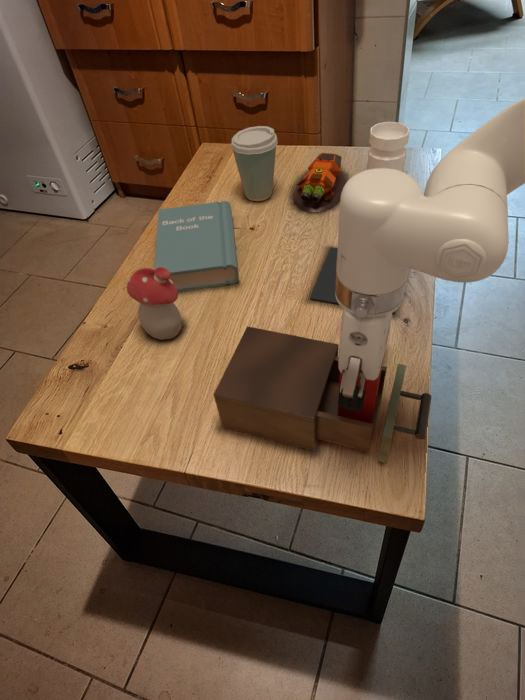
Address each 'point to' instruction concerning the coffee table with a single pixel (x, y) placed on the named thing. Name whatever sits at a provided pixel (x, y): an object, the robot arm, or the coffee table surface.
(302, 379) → the cabinet
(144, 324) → the decorative ornament
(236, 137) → the disposable coffee cup
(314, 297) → the mat
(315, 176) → the toy spacecraft
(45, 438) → the coffee table surface
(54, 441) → the coffee table surface
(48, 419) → the coffee table surface
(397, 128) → the vase
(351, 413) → the red rectangular block
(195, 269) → the book
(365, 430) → the drawer
